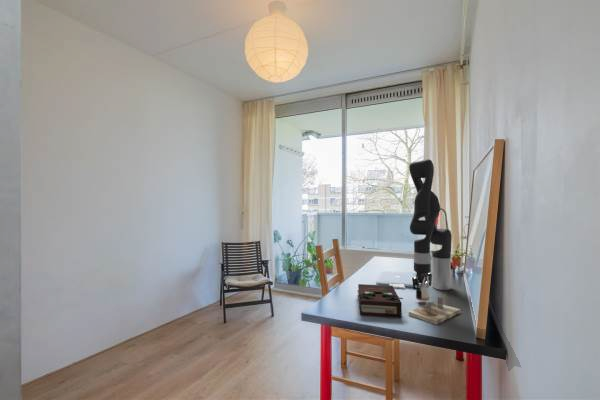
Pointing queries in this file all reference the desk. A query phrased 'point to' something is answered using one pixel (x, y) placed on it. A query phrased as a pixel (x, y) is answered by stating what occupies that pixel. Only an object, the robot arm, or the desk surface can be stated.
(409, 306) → the desk surface
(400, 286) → the hard drive
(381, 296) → the decorative book
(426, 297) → the sleeve
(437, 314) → the pin board
